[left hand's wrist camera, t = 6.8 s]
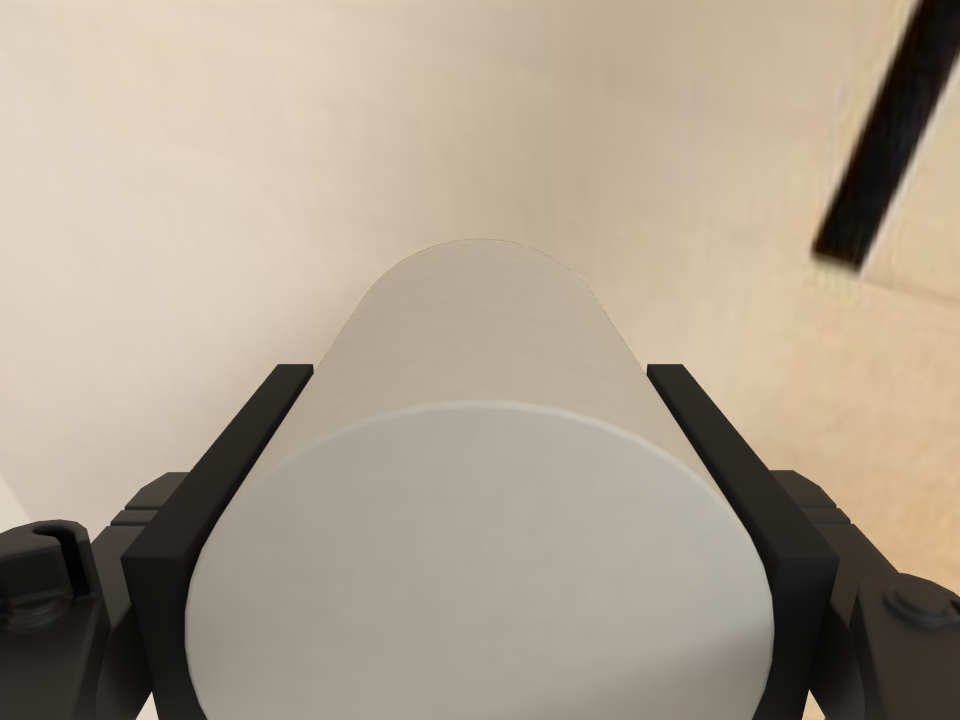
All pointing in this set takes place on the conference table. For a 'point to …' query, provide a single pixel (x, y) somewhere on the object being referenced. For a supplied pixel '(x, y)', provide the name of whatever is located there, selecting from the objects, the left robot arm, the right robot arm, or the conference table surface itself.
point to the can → (479, 524)
